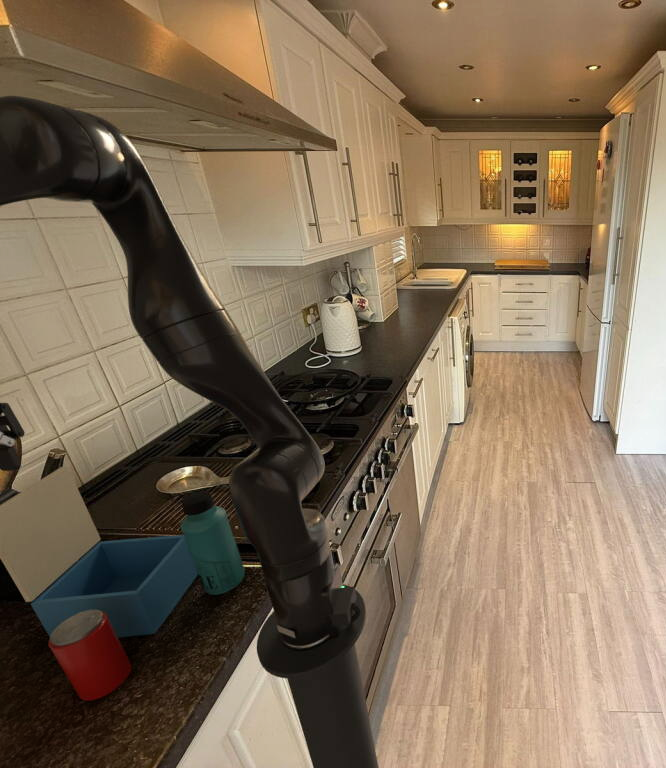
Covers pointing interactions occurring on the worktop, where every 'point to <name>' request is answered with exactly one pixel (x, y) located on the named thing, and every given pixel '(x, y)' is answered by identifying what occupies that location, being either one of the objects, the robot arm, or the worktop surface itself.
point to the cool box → (122, 584)
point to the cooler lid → (44, 531)
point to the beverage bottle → (211, 544)
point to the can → (90, 654)
